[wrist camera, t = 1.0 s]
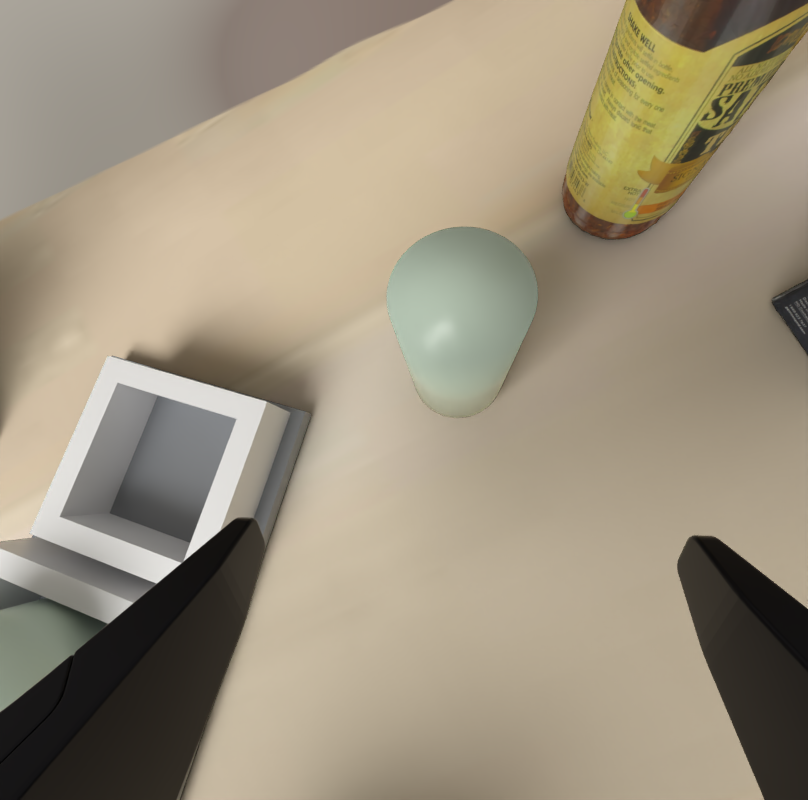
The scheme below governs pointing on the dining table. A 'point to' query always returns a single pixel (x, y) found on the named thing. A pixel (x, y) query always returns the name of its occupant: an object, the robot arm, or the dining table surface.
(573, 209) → the sauce bottle
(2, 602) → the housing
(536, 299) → the pale green rounded block
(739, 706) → the robot arm
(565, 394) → the dining table surface
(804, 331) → the small box
